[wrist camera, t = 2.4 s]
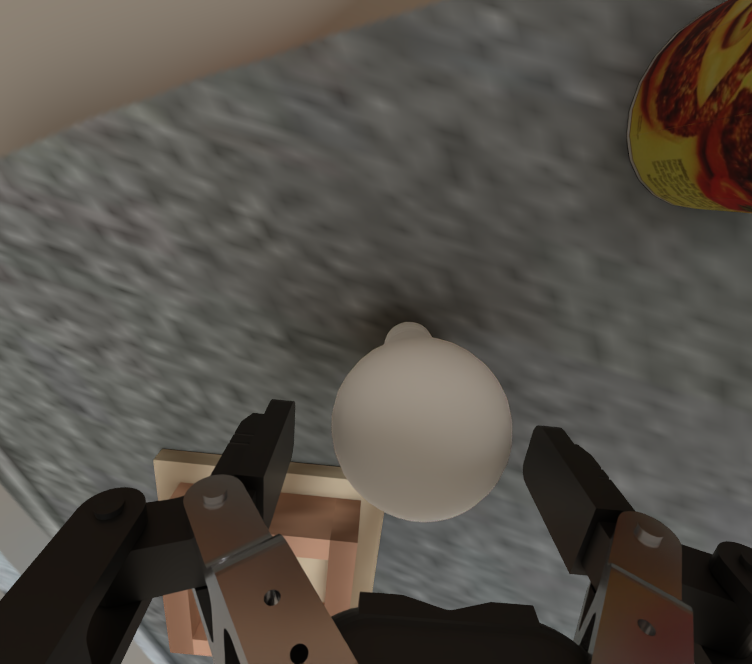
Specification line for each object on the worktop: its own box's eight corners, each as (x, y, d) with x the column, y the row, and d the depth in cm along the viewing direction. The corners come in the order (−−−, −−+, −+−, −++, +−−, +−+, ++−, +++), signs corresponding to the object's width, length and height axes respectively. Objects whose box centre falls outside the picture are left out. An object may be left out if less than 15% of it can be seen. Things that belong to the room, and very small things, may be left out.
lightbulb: (328, 323, 21) (272, 462, 10) (426, 259, 19) (472, 347, 9) (391, 406, 22) (396, 594, 12) (485, 353, 21) (579, 514, 11)
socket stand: (388, 472, 24) (388, 524, 20) (366, 620, 29) (363, 684, 25) (162, 448, 24) (121, 498, 20) (179, 602, 29) (149, 664, 25)
